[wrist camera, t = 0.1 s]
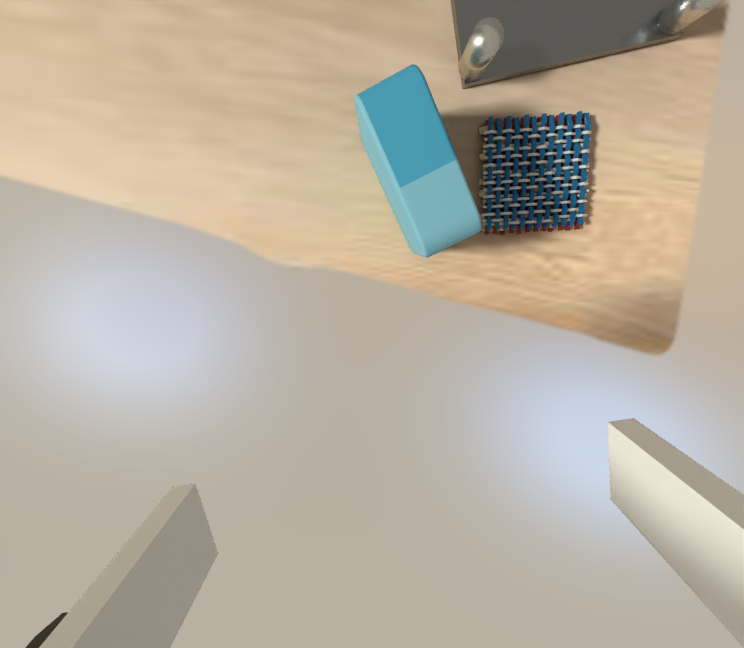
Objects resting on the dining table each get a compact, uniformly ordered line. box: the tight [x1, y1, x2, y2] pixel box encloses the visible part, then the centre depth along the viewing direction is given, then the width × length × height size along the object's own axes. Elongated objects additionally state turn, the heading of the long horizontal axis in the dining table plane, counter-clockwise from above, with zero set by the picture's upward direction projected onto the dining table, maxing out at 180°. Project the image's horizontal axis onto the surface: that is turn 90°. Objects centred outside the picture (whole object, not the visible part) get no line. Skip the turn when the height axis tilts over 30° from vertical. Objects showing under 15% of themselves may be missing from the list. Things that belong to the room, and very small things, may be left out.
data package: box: [354, 65, 482, 257], centre depth 30 cm, size 12×4×12 cm, turn 26°
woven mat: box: [478, 111, 592, 235], centre depth 35 cm, size 10×11×2 cm
